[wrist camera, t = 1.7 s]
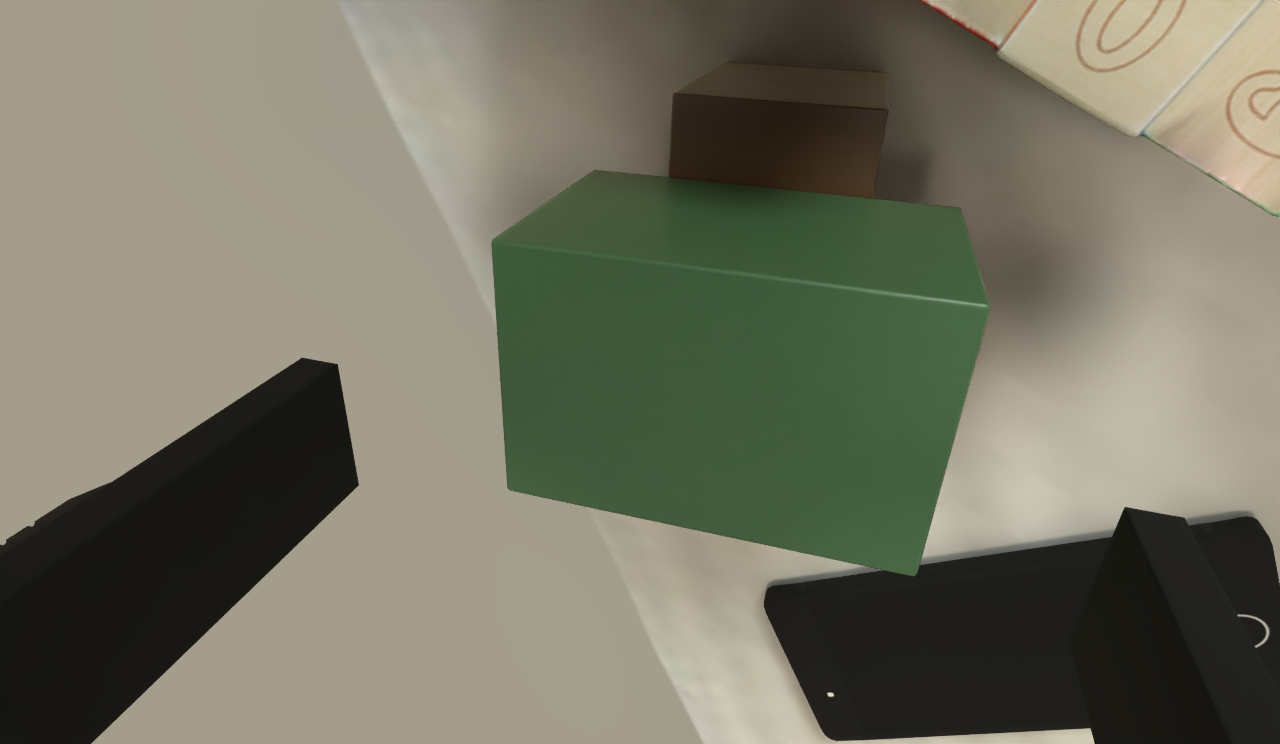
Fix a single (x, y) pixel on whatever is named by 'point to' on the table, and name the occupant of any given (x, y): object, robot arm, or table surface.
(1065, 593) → the cell phone
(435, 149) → the table surface
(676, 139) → the walnut block
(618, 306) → the green block
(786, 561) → the table surface
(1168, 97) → the stack of blocks
